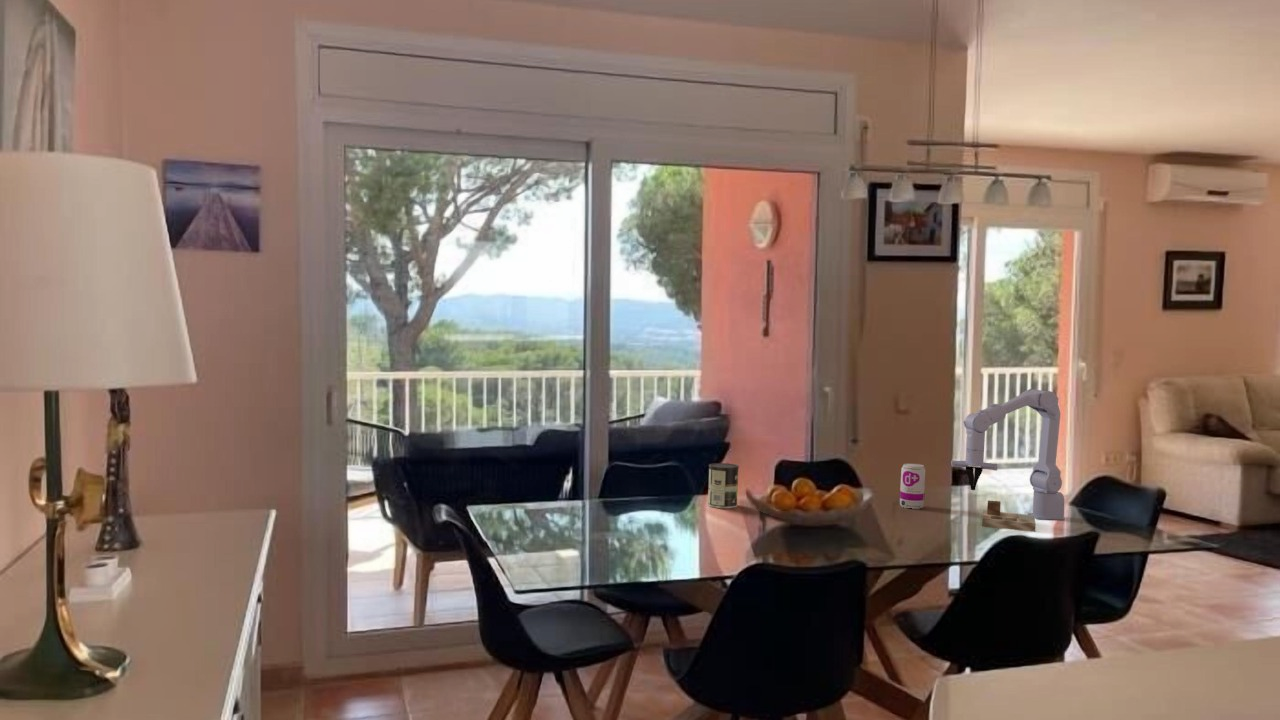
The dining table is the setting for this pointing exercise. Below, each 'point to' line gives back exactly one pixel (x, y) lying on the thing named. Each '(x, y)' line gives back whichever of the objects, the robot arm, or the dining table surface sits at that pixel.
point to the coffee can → (723, 485)
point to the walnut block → (993, 507)
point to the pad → (1026, 517)
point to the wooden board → (1007, 521)
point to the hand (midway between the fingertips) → (972, 489)
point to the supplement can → (912, 486)
